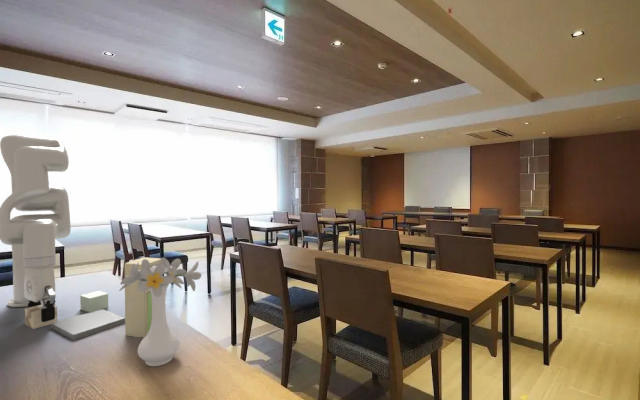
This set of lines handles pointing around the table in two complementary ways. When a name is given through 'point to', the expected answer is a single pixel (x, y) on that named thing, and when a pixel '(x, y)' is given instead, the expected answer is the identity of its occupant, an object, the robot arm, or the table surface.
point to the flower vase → (159, 306)
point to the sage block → (94, 301)
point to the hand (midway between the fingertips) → (41, 317)
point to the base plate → (87, 324)
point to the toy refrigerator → (138, 303)
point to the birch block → (37, 317)
